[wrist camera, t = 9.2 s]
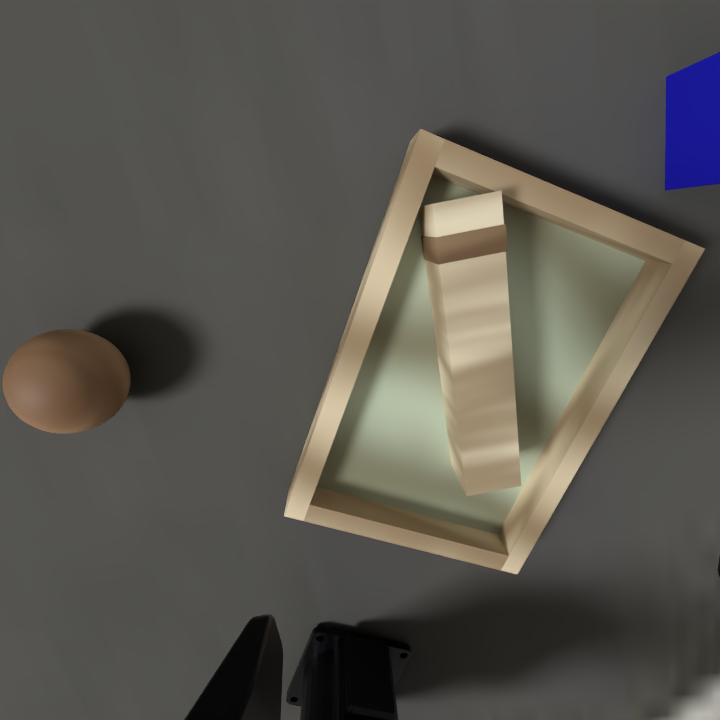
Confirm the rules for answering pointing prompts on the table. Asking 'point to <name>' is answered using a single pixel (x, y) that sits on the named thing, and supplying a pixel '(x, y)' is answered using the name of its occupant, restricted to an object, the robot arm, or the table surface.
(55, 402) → the bead
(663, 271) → the tray
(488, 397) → the tall beige post
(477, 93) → the table surface
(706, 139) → the cable clip
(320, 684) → the robot arm
